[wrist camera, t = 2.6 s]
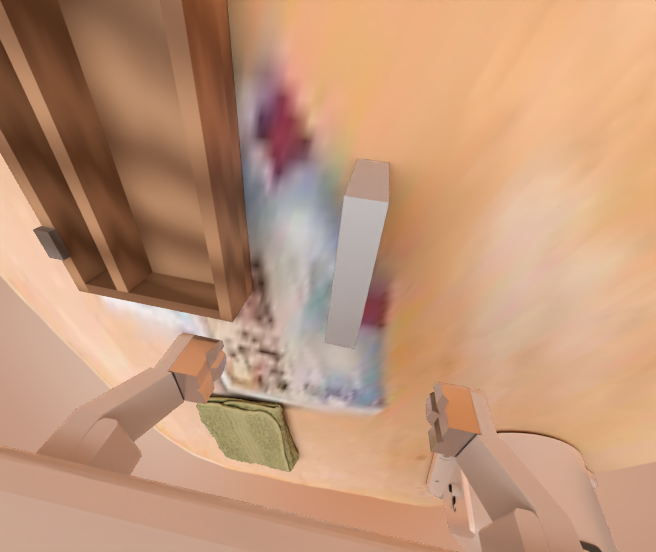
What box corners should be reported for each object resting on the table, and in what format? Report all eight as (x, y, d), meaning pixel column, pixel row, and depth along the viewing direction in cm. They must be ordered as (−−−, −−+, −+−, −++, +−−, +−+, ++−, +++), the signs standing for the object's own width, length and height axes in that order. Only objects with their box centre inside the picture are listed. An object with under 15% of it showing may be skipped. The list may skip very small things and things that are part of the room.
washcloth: (284, 396, 37) (276, 420, 35) (302, 455, 48) (297, 477, 45) (196, 385, 40) (183, 407, 37) (231, 444, 50) (222, 464, 48)
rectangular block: (363, 284, 24) (355, 348, 18) (339, 280, 24) (324, 342, 18) (389, 162, 18) (390, 203, 12) (358, 157, 18) (344, 196, 12)
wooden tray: (252, 290, 26) (229, 327, 23) (116, 264, 28) (72, 295, 24) (220, -65, 13) (152, -120, 9) (-37, -85, 15) (-189, -141, 11)
